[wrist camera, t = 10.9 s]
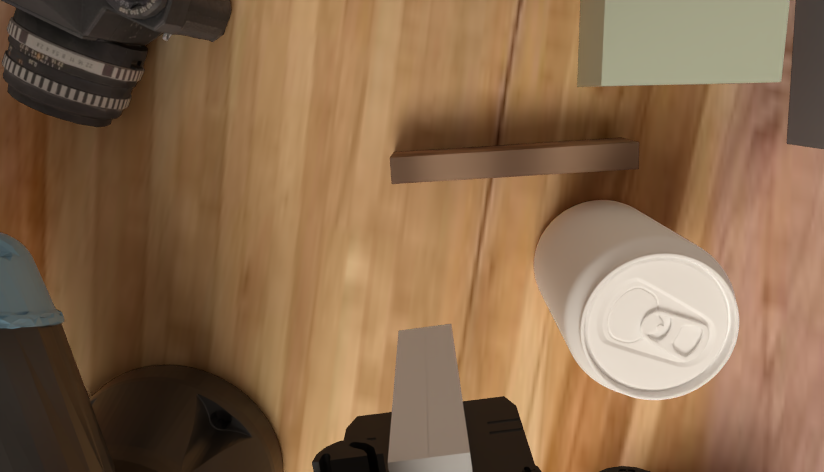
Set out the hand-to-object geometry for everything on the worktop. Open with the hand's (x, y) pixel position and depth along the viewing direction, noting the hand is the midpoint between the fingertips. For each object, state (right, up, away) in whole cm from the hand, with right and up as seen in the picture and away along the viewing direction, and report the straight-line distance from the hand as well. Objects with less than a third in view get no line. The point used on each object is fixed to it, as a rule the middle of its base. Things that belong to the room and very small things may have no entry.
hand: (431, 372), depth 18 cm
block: (+14, +16, +19) cm, 29 cm away
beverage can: (+11, +2, +23) cm, 25 cm away
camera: (-19, +17, +21) cm, 33 cm away
